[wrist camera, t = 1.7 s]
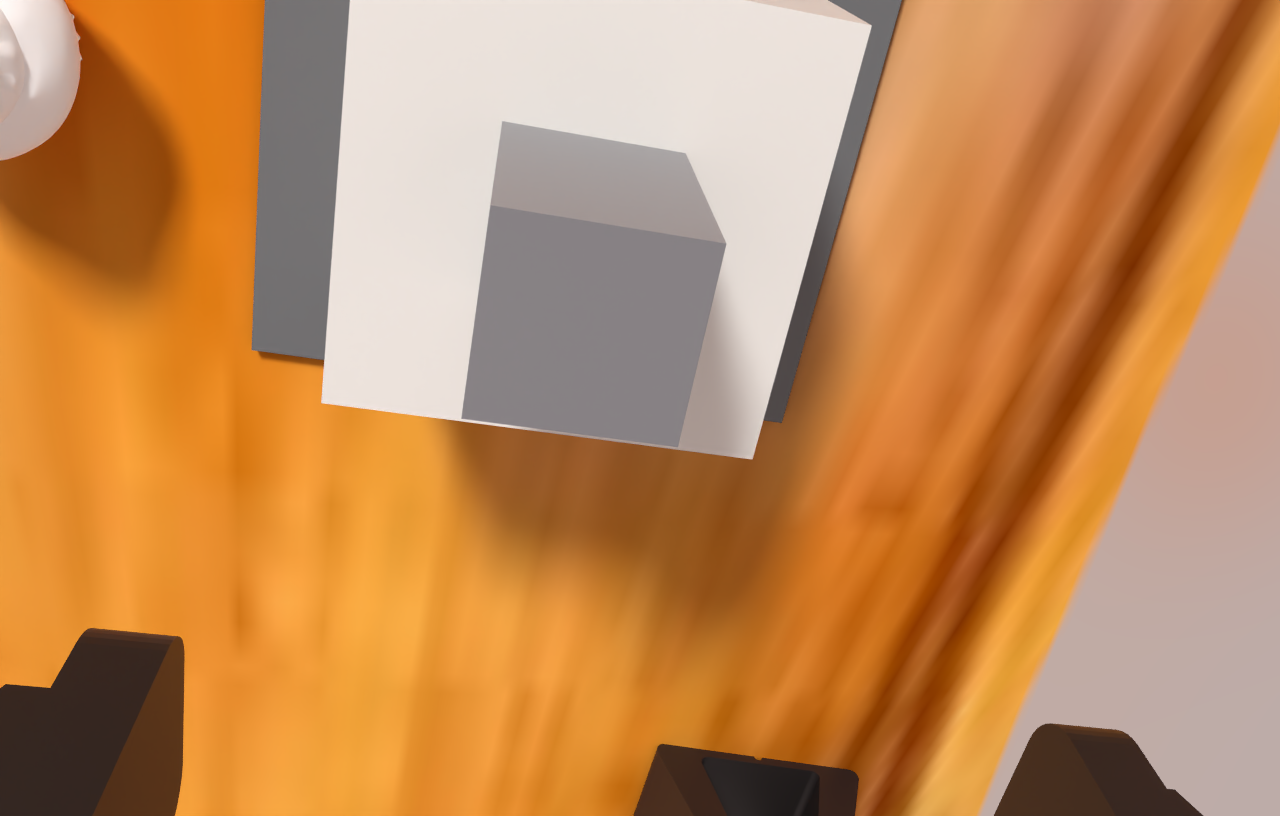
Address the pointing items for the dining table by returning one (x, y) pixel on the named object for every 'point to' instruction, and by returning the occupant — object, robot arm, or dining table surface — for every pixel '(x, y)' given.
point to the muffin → (35, 72)
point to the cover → (581, 210)
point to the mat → (308, 168)
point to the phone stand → (742, 786)
